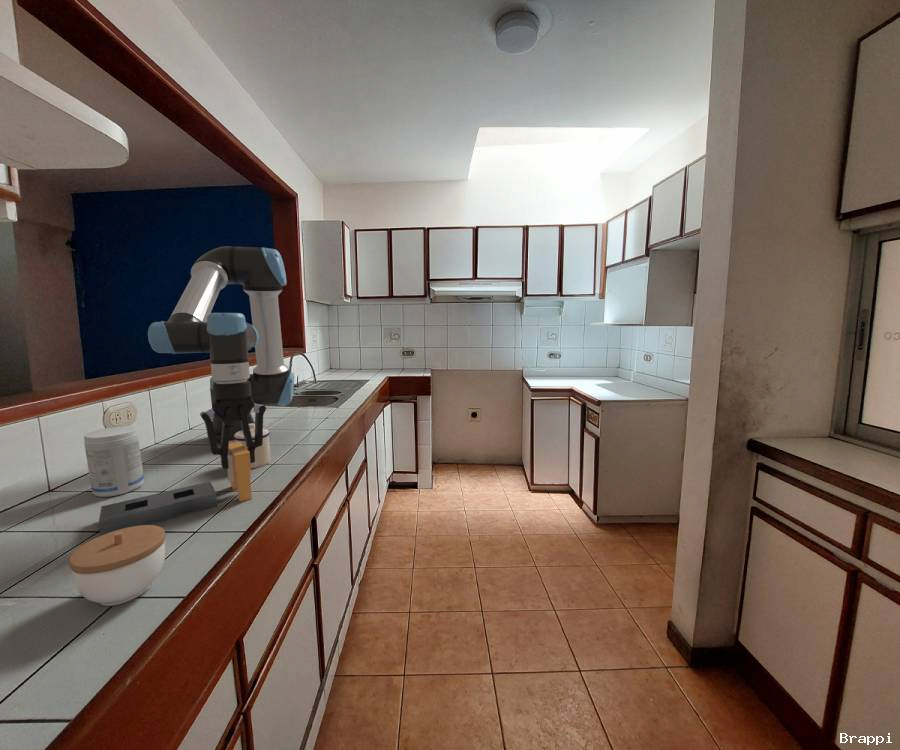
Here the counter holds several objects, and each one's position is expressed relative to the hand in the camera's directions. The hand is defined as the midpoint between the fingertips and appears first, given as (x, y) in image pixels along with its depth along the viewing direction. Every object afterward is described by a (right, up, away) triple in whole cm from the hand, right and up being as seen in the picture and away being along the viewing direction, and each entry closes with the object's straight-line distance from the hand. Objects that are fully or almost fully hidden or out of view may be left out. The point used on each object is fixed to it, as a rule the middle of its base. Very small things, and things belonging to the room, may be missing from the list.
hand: (239, 478), depth 89 cm
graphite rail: (-12, -5, -9) cm, 15 cm away
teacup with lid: (-8, -1, +18) cm, 20 cm away
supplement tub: (-31, -4, +2) cm, 31 cm away
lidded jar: (+1, -8, -32) cm, 33 cm away
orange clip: (0, -3, +1) cm, 4 cm away
